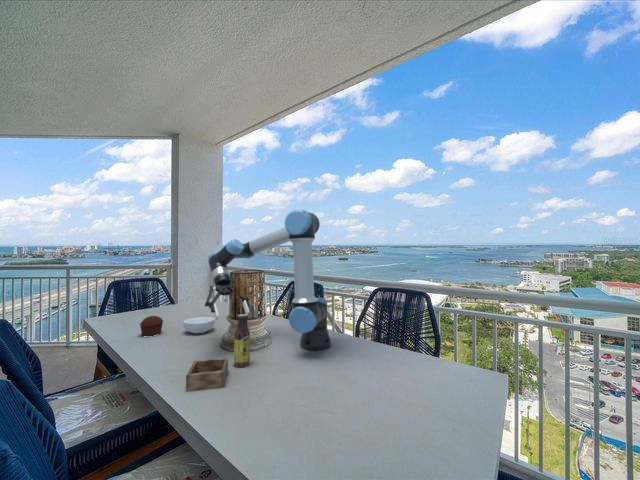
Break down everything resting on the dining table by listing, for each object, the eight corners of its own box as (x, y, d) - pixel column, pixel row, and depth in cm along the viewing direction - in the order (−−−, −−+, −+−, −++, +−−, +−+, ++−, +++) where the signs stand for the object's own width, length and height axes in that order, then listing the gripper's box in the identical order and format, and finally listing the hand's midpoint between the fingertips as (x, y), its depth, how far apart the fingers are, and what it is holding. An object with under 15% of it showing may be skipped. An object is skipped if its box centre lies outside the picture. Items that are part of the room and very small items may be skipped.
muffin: (155, 338, 151) (155, 319, 151) (134, 338, 151) (135, 319, 151) (167, 331, 163) (167, 314, 163) (148, 331, 163) (148, 314, 163)
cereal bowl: (221, 330, 164) (221, 318, 164) (195, 338, 150) (195, 324, 150) (203, 326, 173) (203, 315, 173) (176, 333, 159) (177, 320, 159)
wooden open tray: (227, 371, 108) (227, 357, 108) (224, 387, 96) (224, 371, 96) (194, 374, 105) (194, 360, 106) (185, 391, 93) (186, 375, 93)
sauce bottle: (245, 368, 111) (245, 317, 112) (230, 367, 112) (231, 316, 113) (252, 361, 117) (252, 313, 118) (238, 360, 118) (239, 313, 119)
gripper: (244, 281, 144) (257, 316, 132) (192, 285, 129) (201, 325, 117) (248, 272, 140) (262, 307, 128) (195, 274, 125) (205, 314, 113)
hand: (233, 315), depth 122 cm, fingers open, 13 cm apart
